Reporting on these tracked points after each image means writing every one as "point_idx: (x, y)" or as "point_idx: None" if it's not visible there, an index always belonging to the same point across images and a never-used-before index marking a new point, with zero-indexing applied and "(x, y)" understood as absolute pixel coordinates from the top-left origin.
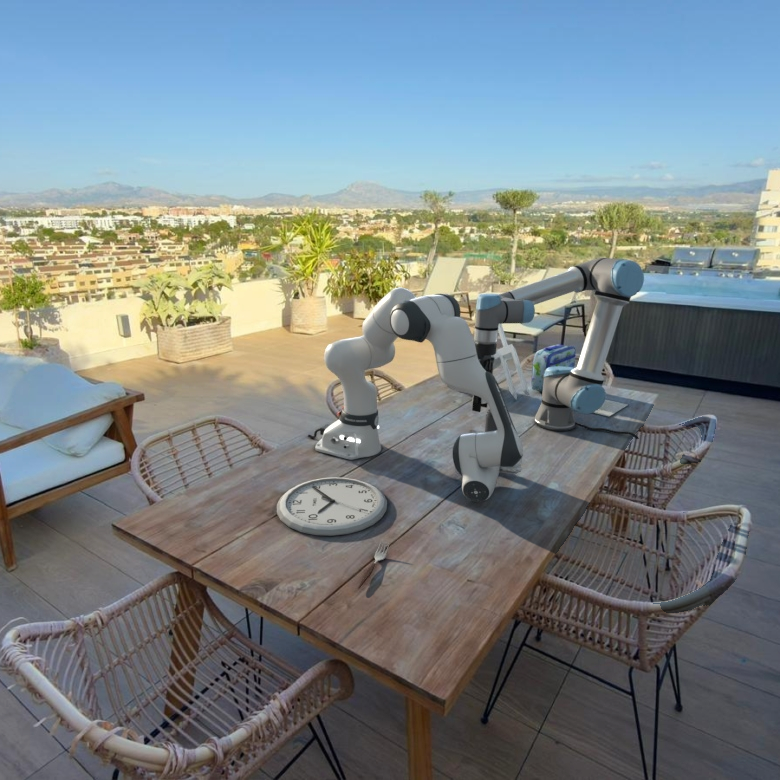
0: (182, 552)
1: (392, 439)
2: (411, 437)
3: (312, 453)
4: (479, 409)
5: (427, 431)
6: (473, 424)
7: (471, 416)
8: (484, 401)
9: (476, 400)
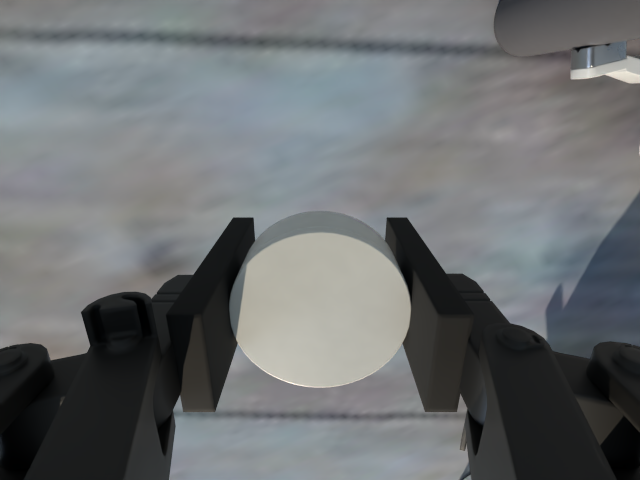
0: None
1: (423, 442)
2: (373, 408)
3: None
4: (412, 228)
5: (286, 393)
6: (83, 291)
7: (5, 334)
8: (368, 232)
9: (479, 298)
